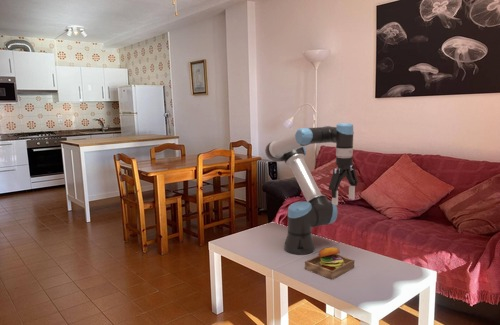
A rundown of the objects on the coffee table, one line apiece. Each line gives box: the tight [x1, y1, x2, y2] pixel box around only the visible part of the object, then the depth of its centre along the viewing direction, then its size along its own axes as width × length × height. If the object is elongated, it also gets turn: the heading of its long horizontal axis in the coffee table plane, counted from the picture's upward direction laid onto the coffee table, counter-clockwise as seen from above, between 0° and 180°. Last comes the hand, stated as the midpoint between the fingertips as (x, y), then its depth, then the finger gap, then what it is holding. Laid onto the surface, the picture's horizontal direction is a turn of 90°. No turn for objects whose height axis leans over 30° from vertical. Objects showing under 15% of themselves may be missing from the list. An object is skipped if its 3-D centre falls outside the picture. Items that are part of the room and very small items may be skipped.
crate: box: [304, 254, 355, 280], centre depth 169 cm, size 15×17×3 cm
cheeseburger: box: [318, 246, 344, 270], centre depth 168 cm, size 10×11×10 cm
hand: (343, 201), depth 179 cm, fingers open, 13 cm apart
